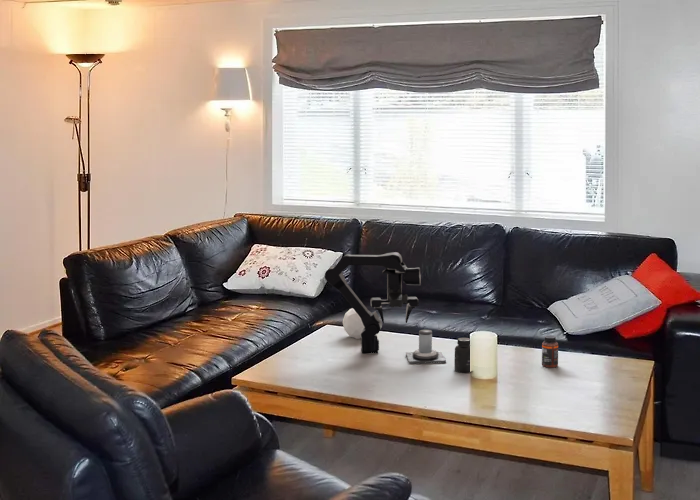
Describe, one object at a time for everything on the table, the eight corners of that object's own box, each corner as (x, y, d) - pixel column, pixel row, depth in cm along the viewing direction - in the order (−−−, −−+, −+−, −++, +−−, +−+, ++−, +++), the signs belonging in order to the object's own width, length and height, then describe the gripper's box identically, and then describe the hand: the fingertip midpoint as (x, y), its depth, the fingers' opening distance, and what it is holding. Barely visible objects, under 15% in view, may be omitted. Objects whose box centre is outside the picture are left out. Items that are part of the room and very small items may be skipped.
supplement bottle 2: (558, 364, 309) (559, 335, 307) (557, 368, 303) (558, 339, 301) (542, 362, 311) (543, 333, 309) (540, 367, 305) (541, 338, 303)
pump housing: (419, 353, 315) (419, 333, 314) (418, 349, 320) (418, 329, 318) (432, 353, 315) (432, 332, 314) (430, 349, 320) (431, 329, 319)
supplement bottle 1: (472, 373, 299) (472, 342, 297) (453, 373, 300) (453, 341, 298) (473, 368, 305) (473, 337, 303) (455, 367, 307) (455, 336, 305)
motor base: (409, 363, 312) (409, 356, 311) (405, 354, 324) (405, 347, 323) (445, 362, 312) (446, 355, 312) (441, 354, 324) (441, 346, 324)
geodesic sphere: (345, 318, 361) (342, 297, 351) (376, 318, 359) (374, 298, 349) (342, 344, 351) (339, 324, 342) (374, 345, 350) (371, 324, 340)
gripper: (372, 289, 315) (372, 328, 317) (420, 288, 315) (420, 327, 318) (370, 283, 326) (370, 321, 328) (417, 282, 326) (417, 320, 329)
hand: (394, 323), depth 325 cm, fingers open, 9 cm apart
